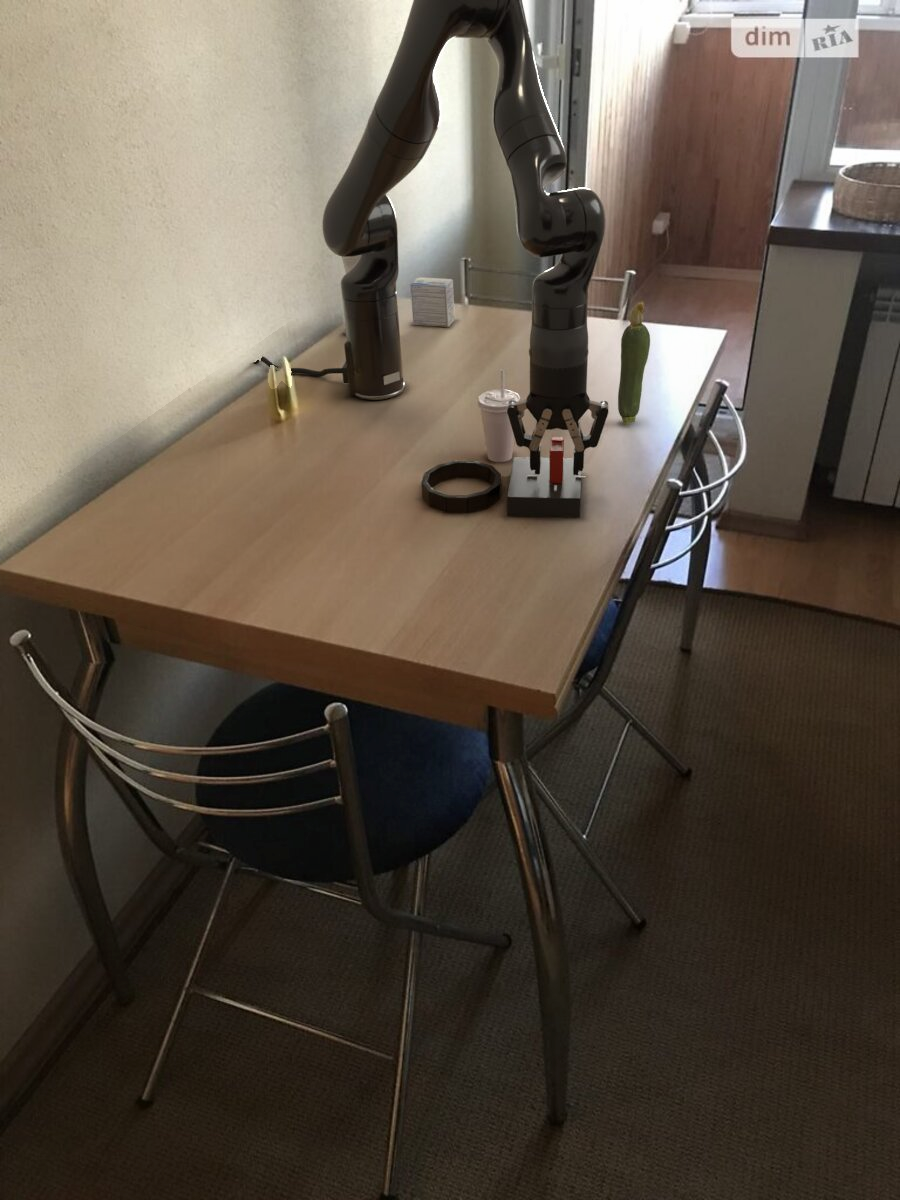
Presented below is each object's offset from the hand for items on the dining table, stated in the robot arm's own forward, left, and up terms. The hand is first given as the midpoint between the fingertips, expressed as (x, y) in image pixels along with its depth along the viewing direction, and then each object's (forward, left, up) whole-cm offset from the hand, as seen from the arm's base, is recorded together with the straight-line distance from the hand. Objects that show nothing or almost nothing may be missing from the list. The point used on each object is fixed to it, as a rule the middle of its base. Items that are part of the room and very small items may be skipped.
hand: (556, 471), depth 133 cm
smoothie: (-9, +12, -4) cm, 16 cm away
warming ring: (-14, 0, -4) cm, 14 cm away
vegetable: (+11, +25, -4) cm, 28 cm away
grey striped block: (-28, +72, -4) cm, 77 cm away
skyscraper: (-41, +67, -4) cm, 79 cm away
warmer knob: (0, 0, -1) cm, 1 cm away
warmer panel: (-2, 0, -4) cm, 4 cm away
